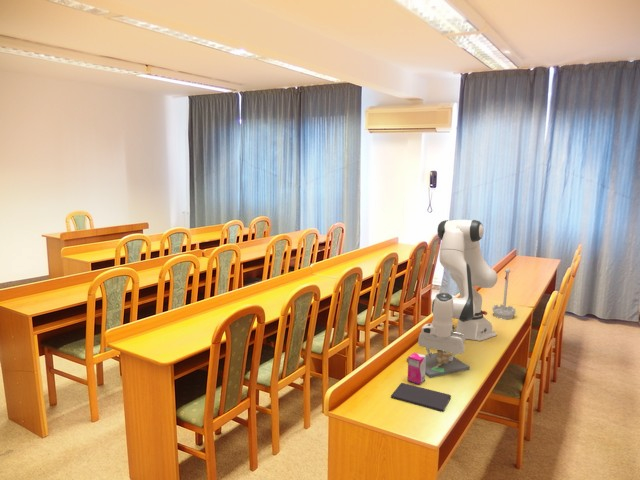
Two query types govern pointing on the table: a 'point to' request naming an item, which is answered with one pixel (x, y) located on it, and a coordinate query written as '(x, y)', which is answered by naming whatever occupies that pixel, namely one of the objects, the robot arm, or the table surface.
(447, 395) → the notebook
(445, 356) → the tan wooden handled piece
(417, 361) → the supplement box
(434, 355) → the flat gray board
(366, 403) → the table surface
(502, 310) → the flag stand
